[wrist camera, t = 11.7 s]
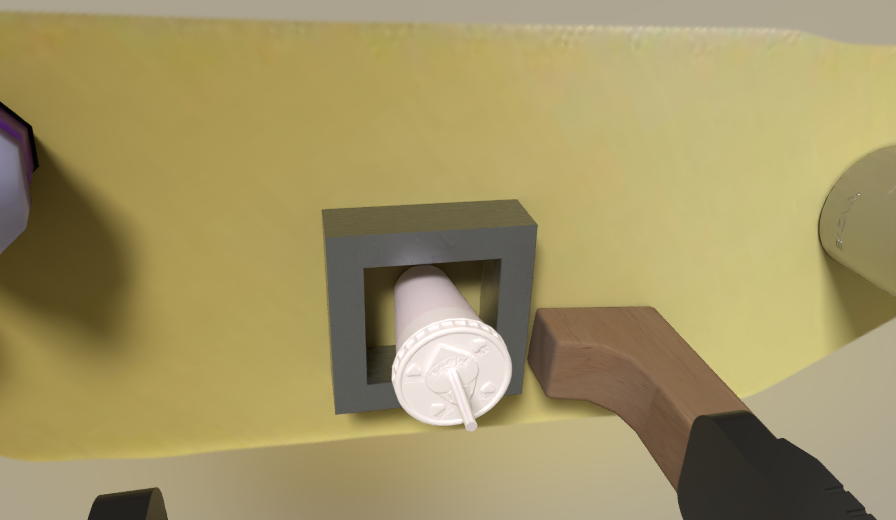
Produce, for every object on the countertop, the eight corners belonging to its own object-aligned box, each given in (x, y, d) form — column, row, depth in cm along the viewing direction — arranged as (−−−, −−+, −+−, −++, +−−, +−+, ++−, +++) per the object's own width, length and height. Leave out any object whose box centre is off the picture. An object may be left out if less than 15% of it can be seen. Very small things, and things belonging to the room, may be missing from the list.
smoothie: (453, 230, 42) (521, 357, 30) (482, 310, 45) (554, 455, 33) (357, 268, 42) (386, 412, 30) (393, 346, 45) (432, 505, 33)
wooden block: (524, 361, 48) (640, 576, 32) (534, 306, 46) (662, 506, 30) (639, 356, 50) (800, 557, 34) (653, 304, 48) (831, 491, 32)
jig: (516, 199, 42) (537, 224, 39) (504, 358, 48) (521, 393, 44) (321, 209, 40) (325, 237, 36) (331, 376, 45) (335, 414, 42)
